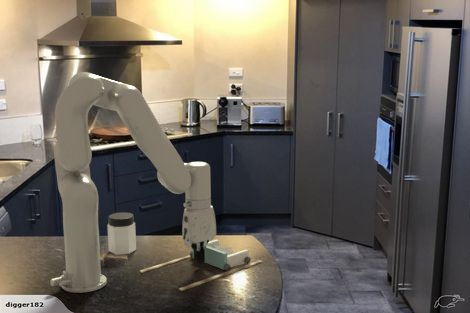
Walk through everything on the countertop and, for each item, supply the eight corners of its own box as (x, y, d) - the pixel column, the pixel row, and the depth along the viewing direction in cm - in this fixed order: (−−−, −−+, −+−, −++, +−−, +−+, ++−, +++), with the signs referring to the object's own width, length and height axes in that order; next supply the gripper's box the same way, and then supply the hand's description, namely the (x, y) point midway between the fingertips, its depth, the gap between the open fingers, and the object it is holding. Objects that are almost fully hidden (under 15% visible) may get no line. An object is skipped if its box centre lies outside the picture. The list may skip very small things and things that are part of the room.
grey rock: (233, 276, 193) (239, 262, 191) (213, 273, 191) (219, 258, 189) (228, 257, 202) (234, 242, 199) (210, 253, 200) (215, 239, 198)
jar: (140, 251, 206) (138, 216, 203) (118, 256, 201) (116, 221, 198) (126, 244, 212) (125, 210, 210) (105, 249, 207) (103, 215, 205)
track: (181, 290, 173) (181, 289, 173) (139, 271, 188) (139, 270, 187) (262, 262, 195) (262, 261, 195) (218, 247, 209) (218, 245, 209)
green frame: (225, 271, 186) (225, 254, 185) (189, 257, 198) (189, 242, 197) (250, 262, 194) (250, 246, 193) (214, 249, 206) (214, 234, 205)
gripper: (186, 210, 179) (188, 271, 182) (225, 201, 189) (225, 258, 192) (170, 205, 184) (172, 264, 188) (208, 196, 194) (209, 252, 198)
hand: (199, 261), depth 190 cm, fingers closed
